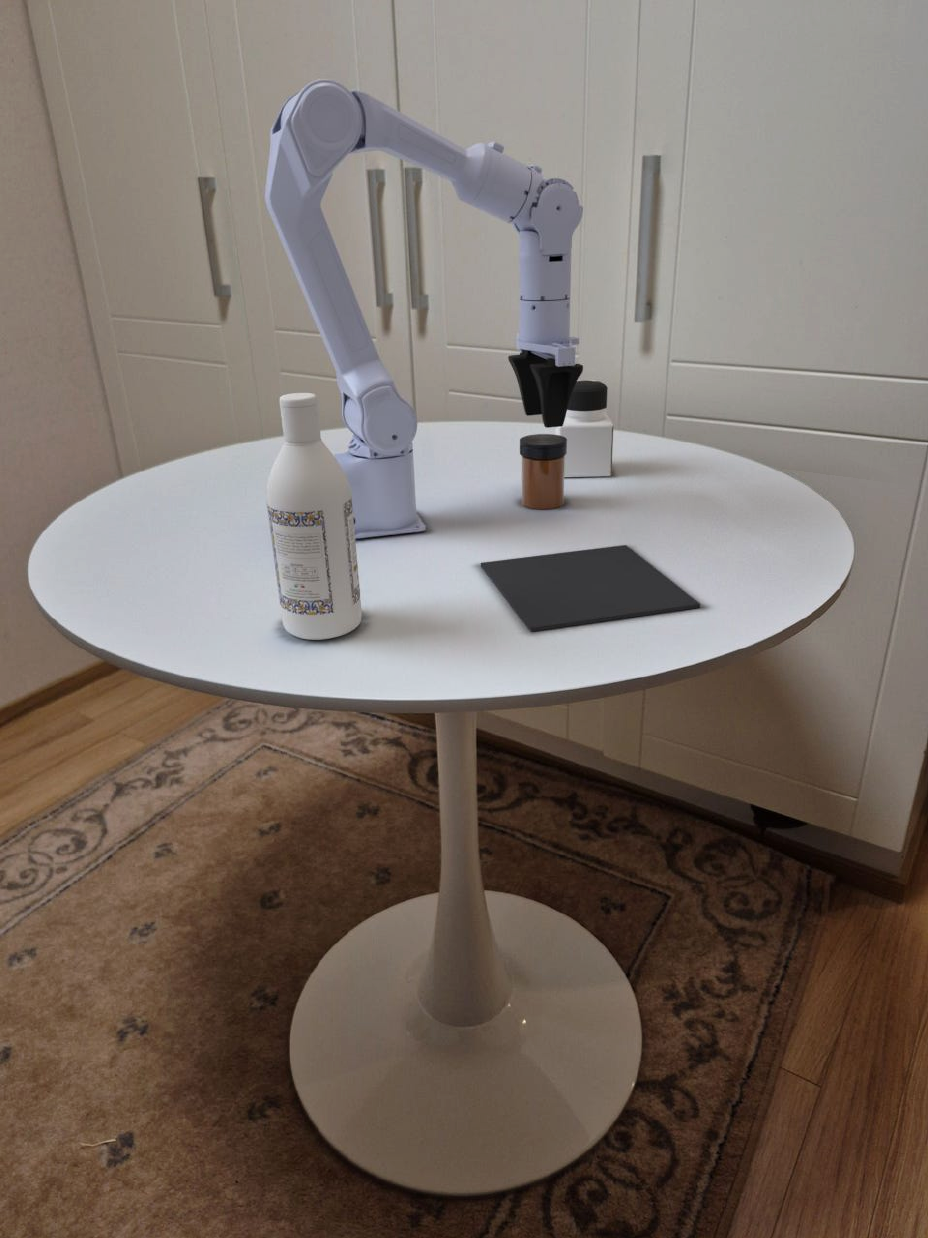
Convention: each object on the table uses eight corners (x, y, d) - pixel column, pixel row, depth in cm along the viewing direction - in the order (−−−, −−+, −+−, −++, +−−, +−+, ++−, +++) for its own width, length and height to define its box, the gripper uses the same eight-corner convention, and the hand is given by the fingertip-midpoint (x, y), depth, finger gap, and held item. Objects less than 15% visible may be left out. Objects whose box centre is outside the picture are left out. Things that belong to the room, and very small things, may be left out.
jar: (529, 511, 103) (529, 450, 100) (516, 498, 108) (516, 440, 105) (569, 506, 105) (571, 446, 101) (555, 494, 109) (556, 436, 106)
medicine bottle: (611, 476, 116) (615, 385, 111) (558, 478, 116) (560, 387, 111) (604, 463, 122) (608, 376, 117) (554, 464, 122) (555, 377, 117)
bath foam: (332, 602, 80) (310, 384, 72) (378, 623, 76) (359, 394, 67) (268, 625, 76) (236, 397, 68) (312, 650, 72) (284, 408, 63)
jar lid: (527, 461, 101) (527, 446, 100) (513, 450, 105) (513, 436, 105) (573, 456, 102) (573, 442, 101) (557, 445, 107) (557, 432, 106)
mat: (530, 631, 74) (530, 627, 73) (480, 566, 88) (480, 562, 87) (699, 607, 77) (700, 603, 77) (625, 548, 91) (625, 544, 91)
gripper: (603, 301, 91) (598, 430, 96) (556, 292, 103) (554, 406, 109) (540, 305, 89) (539, 435, 95) (500, 295, 102) (501, 410, 108)
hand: (543, 420), depth 102 cm, fingers open, 6 cm apart
